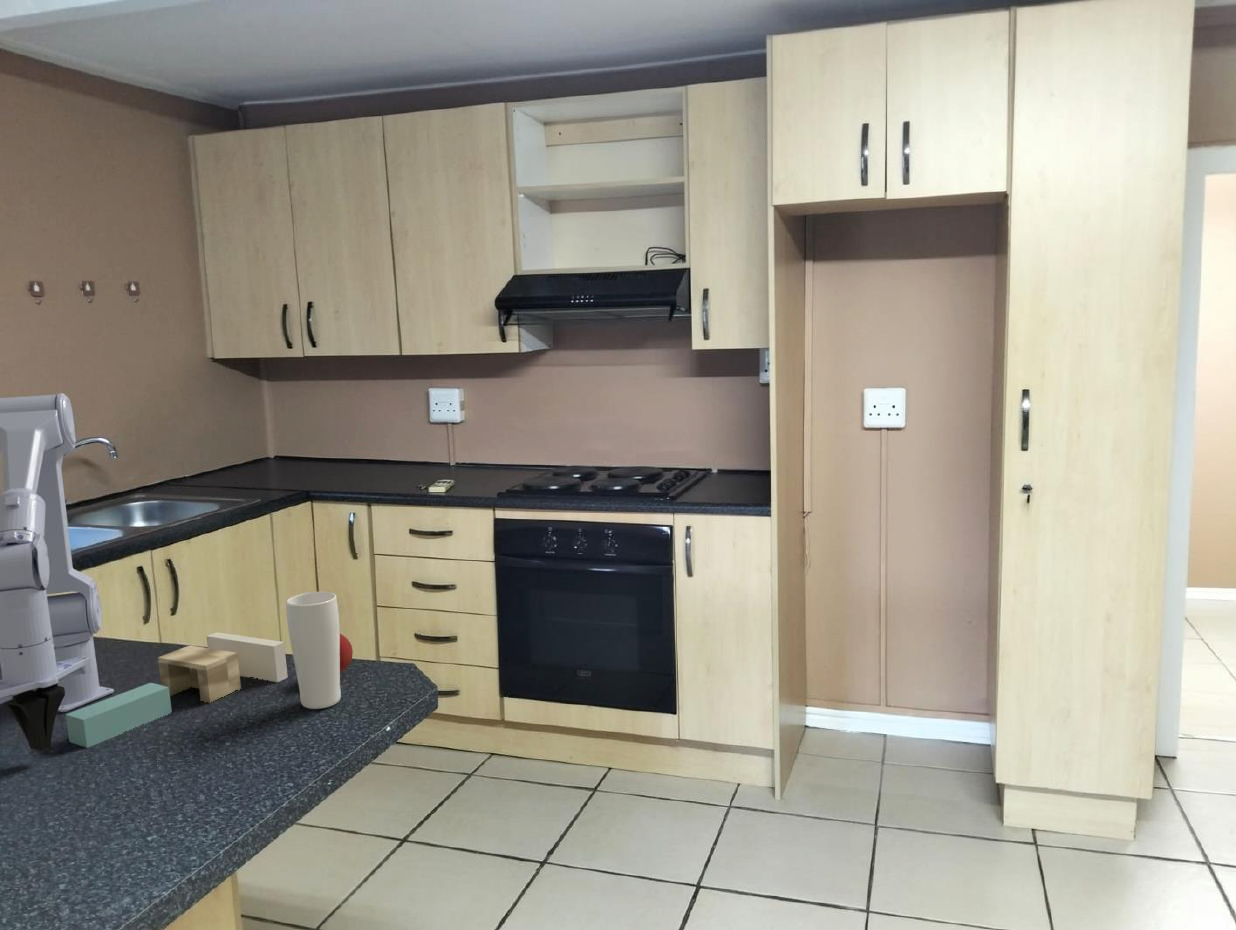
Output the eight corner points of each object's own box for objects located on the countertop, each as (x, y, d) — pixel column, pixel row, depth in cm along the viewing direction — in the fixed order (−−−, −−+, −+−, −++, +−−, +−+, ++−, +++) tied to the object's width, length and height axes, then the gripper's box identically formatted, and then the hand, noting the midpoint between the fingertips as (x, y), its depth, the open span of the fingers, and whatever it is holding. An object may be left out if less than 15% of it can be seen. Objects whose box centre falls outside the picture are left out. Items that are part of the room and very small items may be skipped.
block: (162, 694, 143) (157, 657, 142) (193, 680, 148) (189, 645, 147) (210, 703, 139) (206, 665, 138) (241, 689, 144) (237, 652, 143)
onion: (343, 686, 143) (338, 633, 142) (306, 685, 144) (301, 632, 143) (361, 671, 149) (356, 620, 147) (325, 670, 150) (320, 619, 149)
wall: (210, 670, 152) (206, 636, 151) (220, 666, 154) (216, 632, 153) (277, 682, 146) (273, 646, 145) (287, 677, 148) (284, 642, 147)
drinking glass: (308, 717, 133) (297, 608, 130) (287, 703, 138) (277, 599, 135) (355, 702, 137) (345, 597, 135) (333, 689, 142) (323, 588, 140)
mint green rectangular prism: (69, 743, 128) (65, 714, 128) (154, 709, 138) (150, 682, 138) (87, 749, 126) (83, 720, 125) (172, 715, 136) (168, 687, 136)
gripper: (-15, 665, 112) (2, 778, 114) (101, 626, 125) (115, 729, 127) (-52, 658, 115) (-35, 768, 117) (65, 621, 128) (79, 721, 130)
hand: (40, 747), depth 122 cm, fingers closed
